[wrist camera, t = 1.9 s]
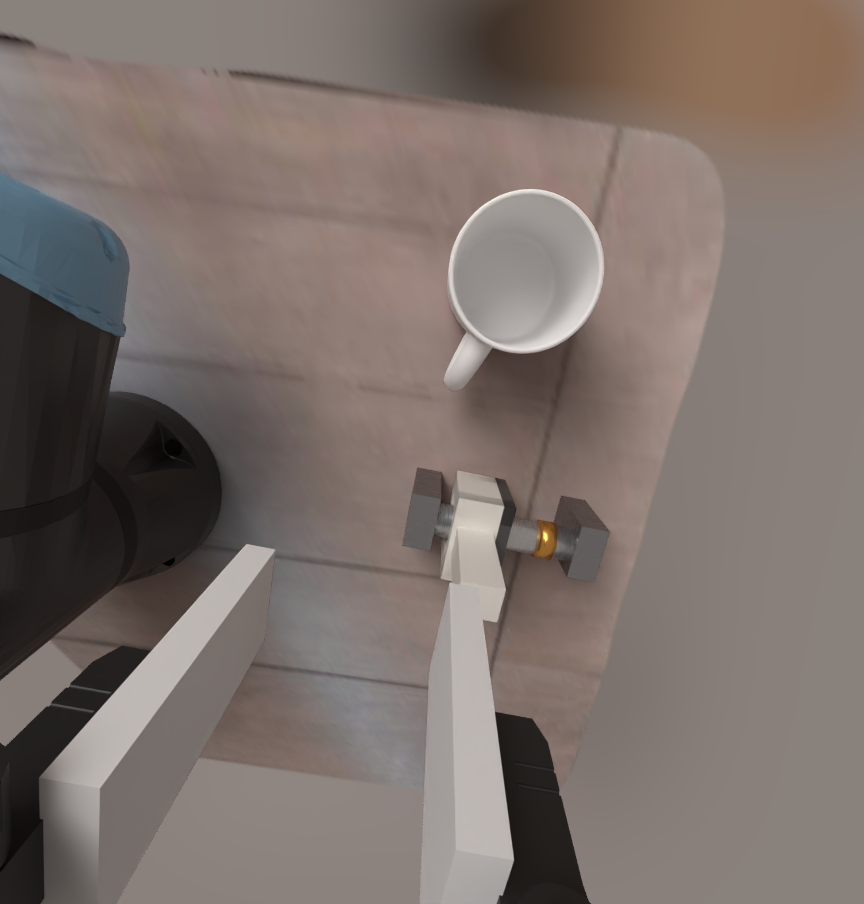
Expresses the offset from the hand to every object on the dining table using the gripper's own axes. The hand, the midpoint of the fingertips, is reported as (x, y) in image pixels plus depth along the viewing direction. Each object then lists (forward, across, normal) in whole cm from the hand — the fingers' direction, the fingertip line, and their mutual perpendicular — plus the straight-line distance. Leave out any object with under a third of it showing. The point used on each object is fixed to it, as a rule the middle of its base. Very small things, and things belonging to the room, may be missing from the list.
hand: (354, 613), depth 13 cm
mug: (+27, +4, +9) cm, 29 cm away
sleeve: (+25, +6, -6) cm, 26 cm away
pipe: (+27, +8, -6) cm, 29 cm away
